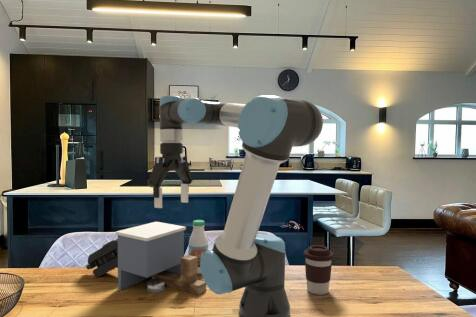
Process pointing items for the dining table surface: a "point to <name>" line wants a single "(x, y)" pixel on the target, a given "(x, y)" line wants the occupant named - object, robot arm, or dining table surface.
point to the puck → (155, 286)
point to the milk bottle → (198, 242)
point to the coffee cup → (318, 269)
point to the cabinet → (149, 252)
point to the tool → (104, 258)
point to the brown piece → (184, 277)
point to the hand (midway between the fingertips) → (172, 205)
